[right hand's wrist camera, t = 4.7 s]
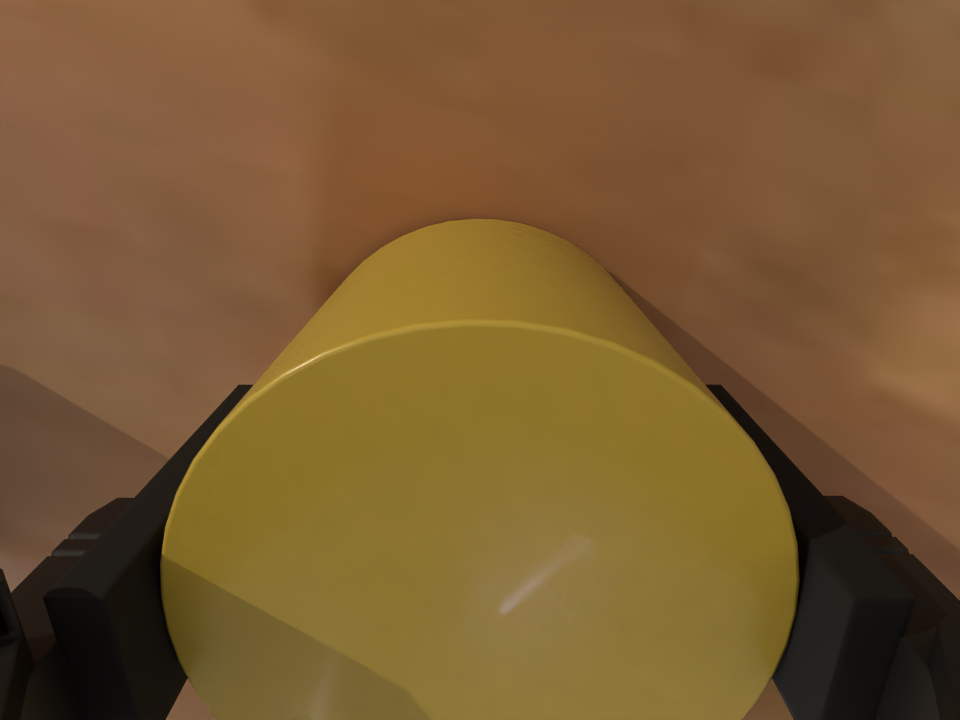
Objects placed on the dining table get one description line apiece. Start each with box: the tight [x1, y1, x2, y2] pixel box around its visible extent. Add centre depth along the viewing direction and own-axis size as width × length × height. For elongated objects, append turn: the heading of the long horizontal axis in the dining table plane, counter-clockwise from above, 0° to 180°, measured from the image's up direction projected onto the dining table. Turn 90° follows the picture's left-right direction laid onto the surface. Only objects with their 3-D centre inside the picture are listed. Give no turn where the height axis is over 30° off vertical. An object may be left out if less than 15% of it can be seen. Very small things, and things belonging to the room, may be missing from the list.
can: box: [160, 219, 800, 720], centre depth 13 cm, size 9×9×8 cm
